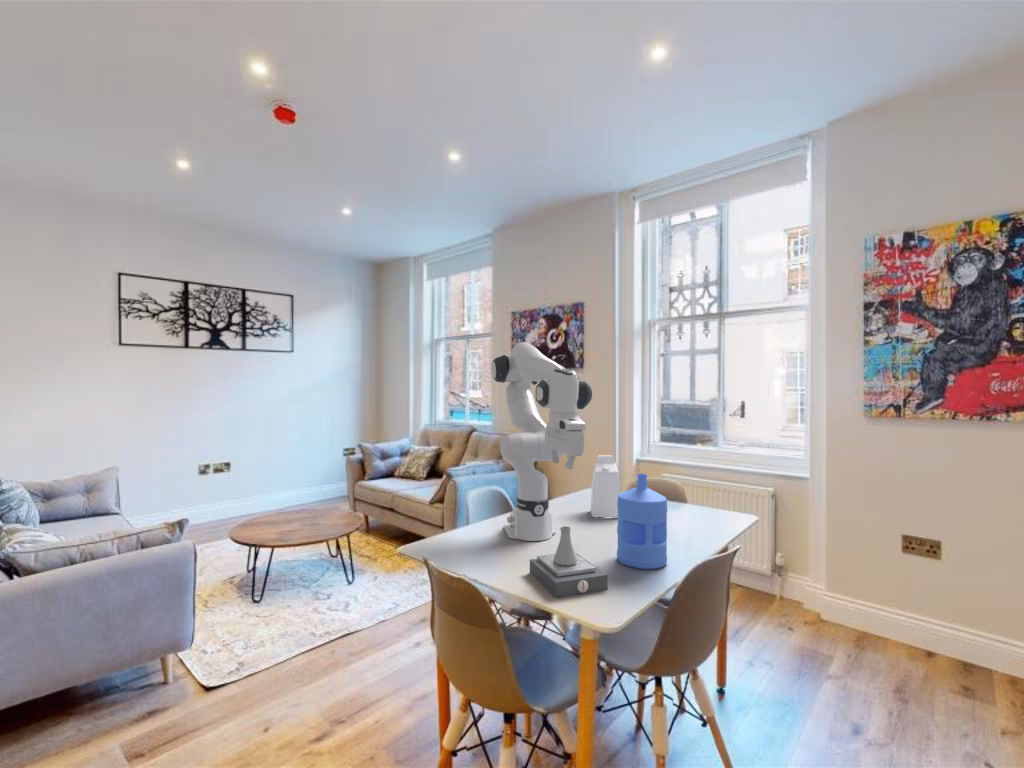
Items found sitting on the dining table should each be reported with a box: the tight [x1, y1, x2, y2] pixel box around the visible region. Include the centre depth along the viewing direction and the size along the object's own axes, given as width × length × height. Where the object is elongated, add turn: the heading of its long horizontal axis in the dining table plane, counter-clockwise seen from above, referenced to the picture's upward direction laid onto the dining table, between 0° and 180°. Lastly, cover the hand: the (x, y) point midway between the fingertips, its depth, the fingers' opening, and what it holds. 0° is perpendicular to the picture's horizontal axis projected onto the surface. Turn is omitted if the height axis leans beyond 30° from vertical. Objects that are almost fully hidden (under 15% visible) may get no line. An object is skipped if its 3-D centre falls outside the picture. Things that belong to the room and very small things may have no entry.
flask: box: [553, 525, 578, 565], centre depth 141 cm, size 7×7×10 cm
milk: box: [590, 455, 621, 518], centre depth 213 cm, size 12×12×26 cm
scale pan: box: [536, 553, 597, 577], centre depth 141 cm, size 14×12×1 cm
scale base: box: [529, 553, 609, 598], centre depth 140 cm, size 19×16×4 cm
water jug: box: [616, 473, 668, 570], centre depth 156 cm, size 16×16×28 cm
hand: (562, 465), depth 149 cm, fingers open, 8 cm apart
